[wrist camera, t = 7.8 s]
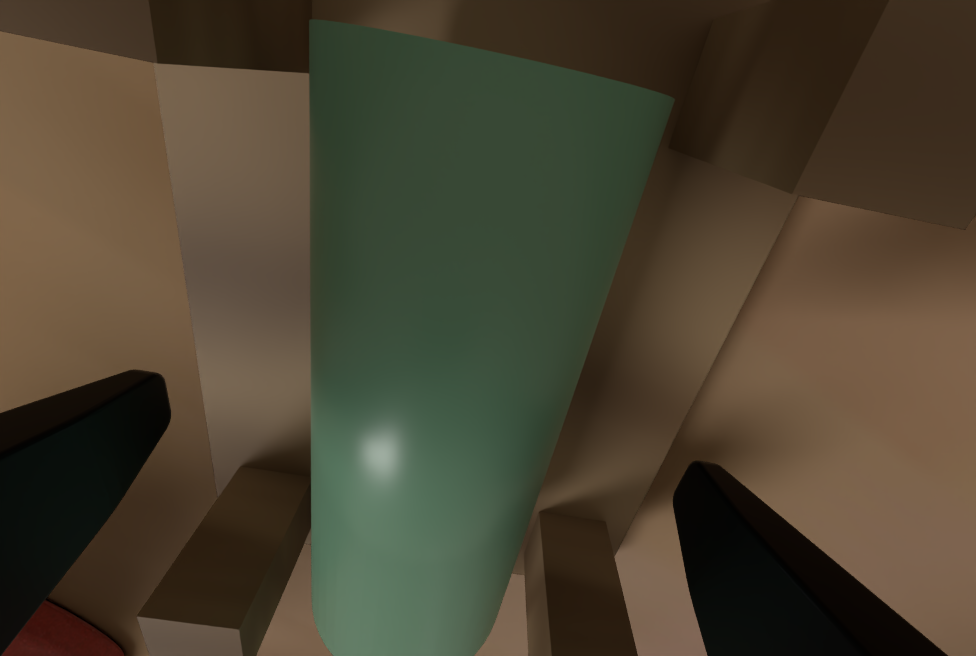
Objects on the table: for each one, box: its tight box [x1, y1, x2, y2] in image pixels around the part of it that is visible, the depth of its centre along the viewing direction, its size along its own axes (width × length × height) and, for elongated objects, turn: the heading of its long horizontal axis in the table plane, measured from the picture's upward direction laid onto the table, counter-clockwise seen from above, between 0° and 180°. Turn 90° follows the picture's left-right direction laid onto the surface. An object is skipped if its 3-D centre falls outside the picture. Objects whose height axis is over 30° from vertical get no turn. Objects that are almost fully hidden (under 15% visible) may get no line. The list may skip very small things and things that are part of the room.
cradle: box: [0, 0, 976, 656], centre depth 9 cm, size 16×12×5 cm
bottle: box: [309, 19, 675, 656], centre depth 10 cm, size 17×4×4 cm, turn 169°
